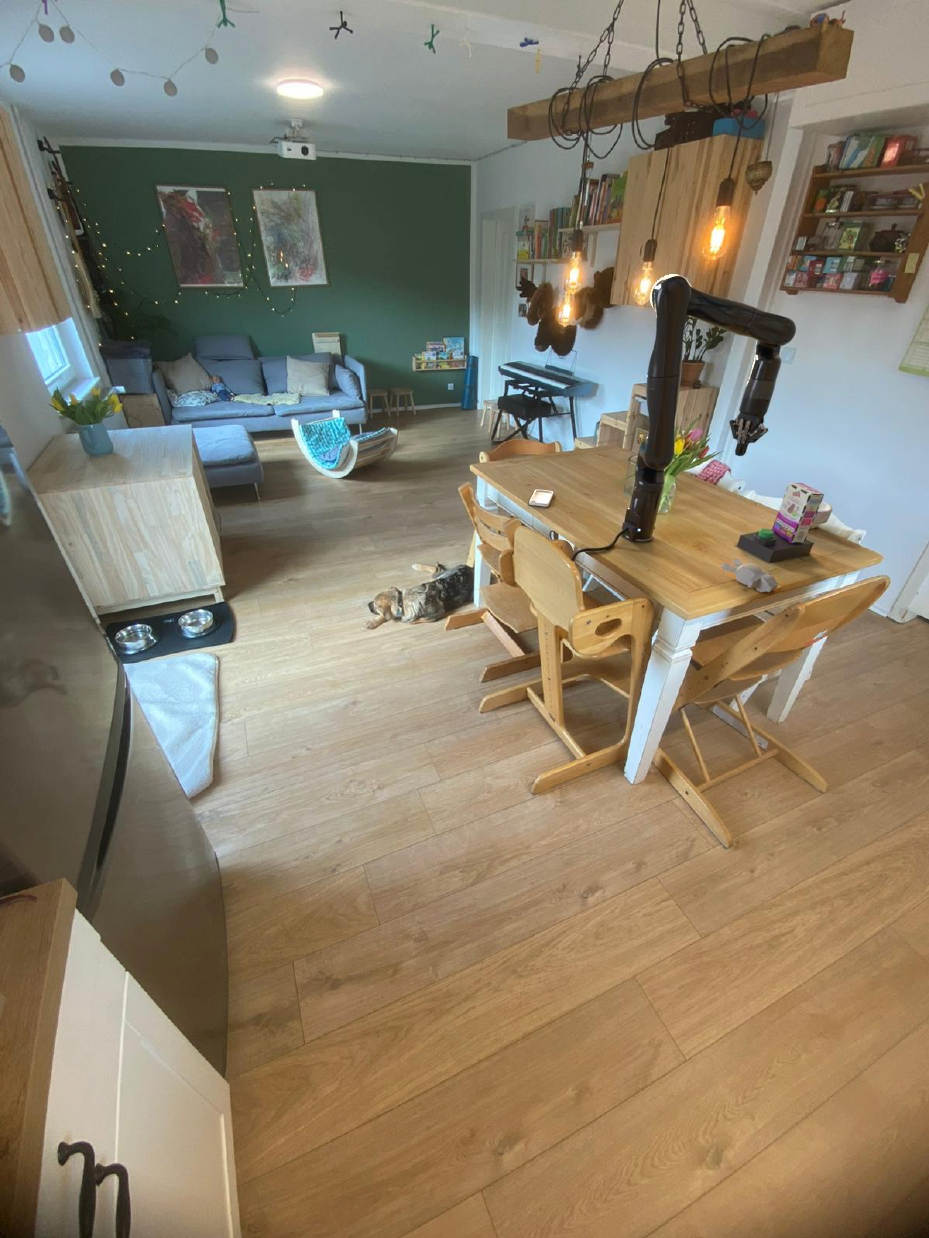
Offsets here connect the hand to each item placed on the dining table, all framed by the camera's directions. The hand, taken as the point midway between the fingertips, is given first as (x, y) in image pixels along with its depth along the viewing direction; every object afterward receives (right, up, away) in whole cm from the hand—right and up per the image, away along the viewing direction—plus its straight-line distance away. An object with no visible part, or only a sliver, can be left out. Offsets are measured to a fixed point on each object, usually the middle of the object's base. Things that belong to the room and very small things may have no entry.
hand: (739, 455), depth 163 cm
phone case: (-55, -3, +46) cm, 71 cm away
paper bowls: (+39, -16, +31) cm, 52 cm away
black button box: (+17, -28, +11) cm, 34 cm away
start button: (+11, -24, +6) cm, 27 cm away
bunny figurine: (-2, -40, -8) cm, 41 cm away
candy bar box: (+21, -24, +11) cm, 34 cm away
